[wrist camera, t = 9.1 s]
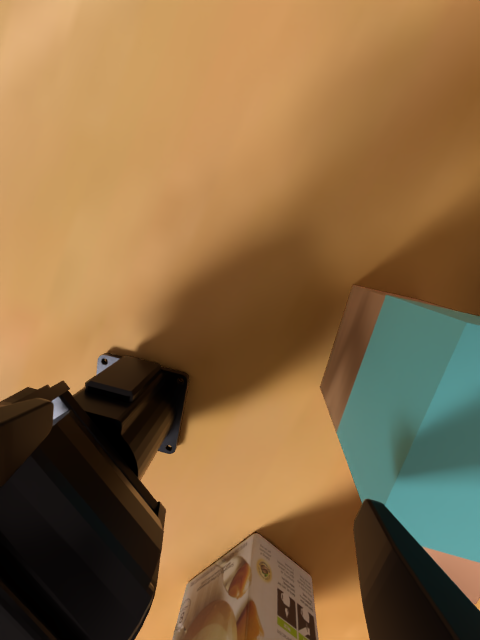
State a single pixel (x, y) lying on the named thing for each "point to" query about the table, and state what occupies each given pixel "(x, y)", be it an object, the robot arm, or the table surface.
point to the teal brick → (420, 423)
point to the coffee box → (249, 598)
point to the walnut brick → (352, 346)
